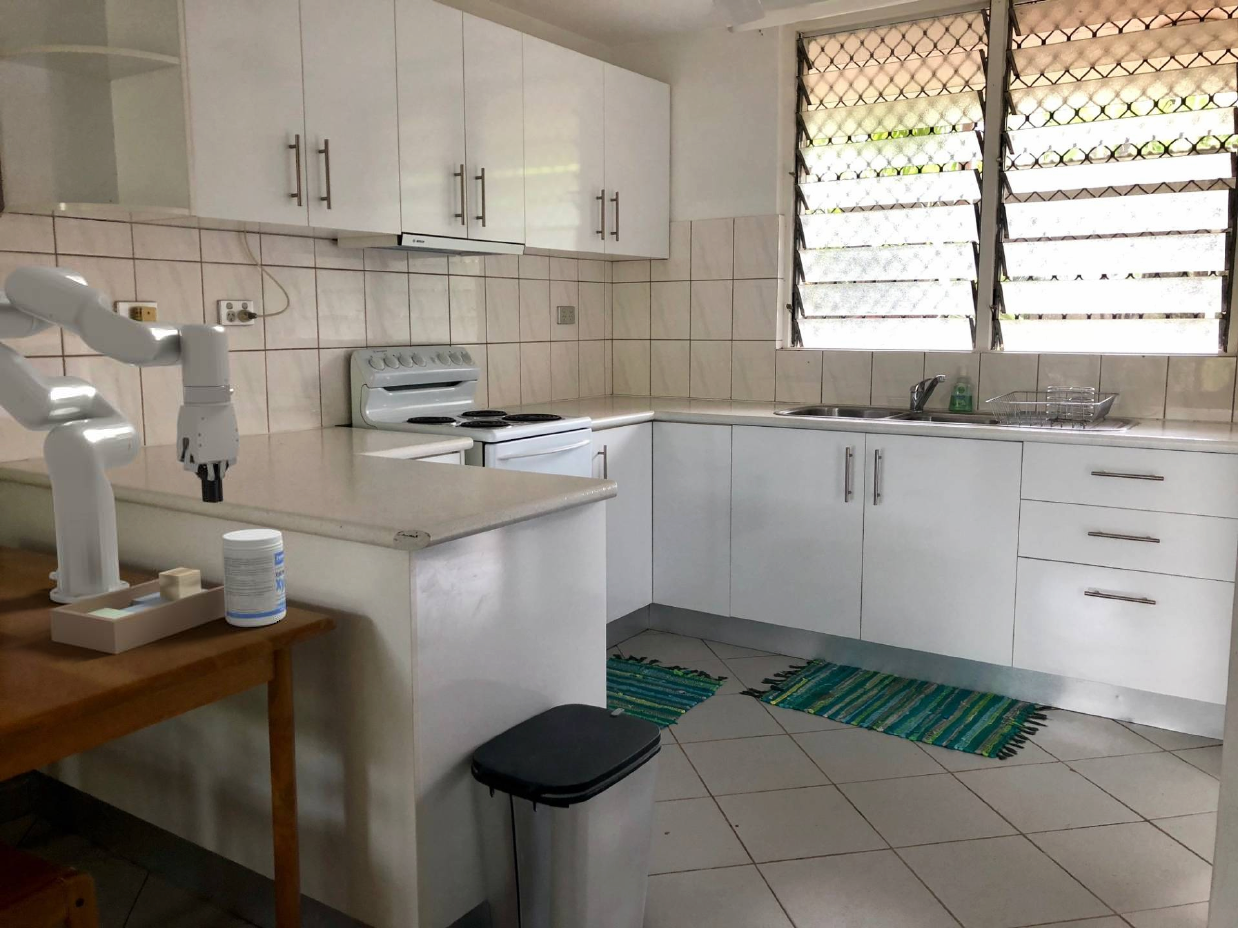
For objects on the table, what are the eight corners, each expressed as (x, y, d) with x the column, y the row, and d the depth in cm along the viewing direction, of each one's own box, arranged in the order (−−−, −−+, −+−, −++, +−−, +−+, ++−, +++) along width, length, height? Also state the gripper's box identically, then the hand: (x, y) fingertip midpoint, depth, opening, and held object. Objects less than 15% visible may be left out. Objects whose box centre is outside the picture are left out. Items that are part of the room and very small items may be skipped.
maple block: (160, 599, 162) (158, 573, 162) (181, 592, 166) (180, 567, 166) (180, 602, 161) (178, 576, 160) (201, 595, 165) (200, 570, 164)
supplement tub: (292, 623, 161) (289, 536, 159) (232, 632, 155) (228, 543, 153) (277, 608, 169) (274, 525, 166) (219, 616, 163) (215, 531, 161)
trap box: (51, 640, 150) (49, 609, 149) (177, 601, 172) (176, 573, 171) (116, 654, 144) (114, 621, 144) (237, 611, 166) (236, 583, 166)
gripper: (224, 392, 174) (229, 493, 176) (154, 398, 160) (161, 507, 163) (256, 394, 171) (261, 496, 173) (188, 400, 157) (194, 510, 160)
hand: (212, 501), depth 168 cm, fingers closed
